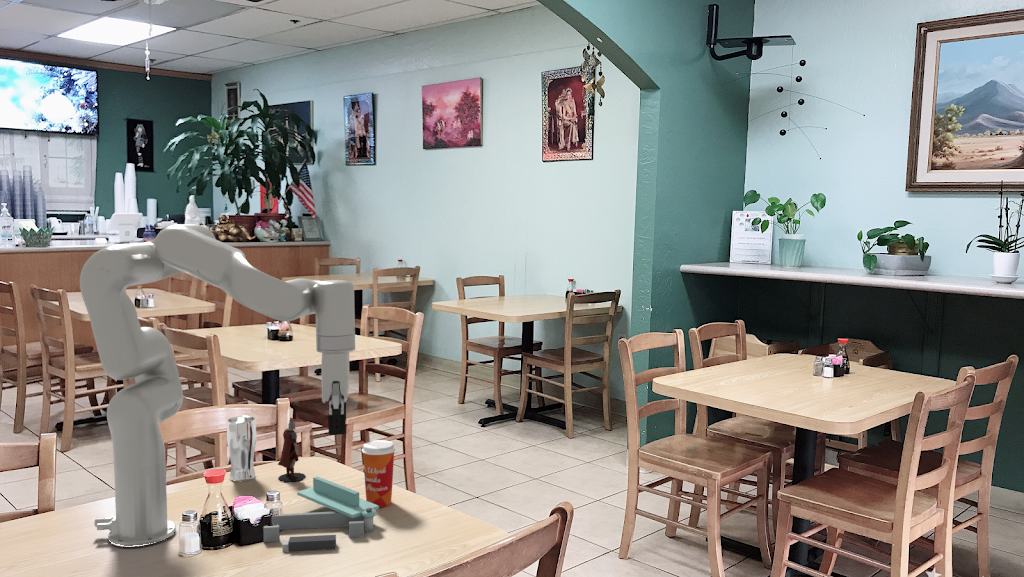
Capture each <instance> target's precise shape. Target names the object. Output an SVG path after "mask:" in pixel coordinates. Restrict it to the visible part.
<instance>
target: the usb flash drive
mask: <svg viewBox="0 0 1024 577" xmlns="http://www.w3.org/2000/svg"><path fill="white" fill-rule="evenodd" d="M336 546H337V535H336V534H324V535H321V534H319V535H305V536H304V535H303V536H290V537H289V539H288V540H283V542H282V546H281V547H282V552H288V553H295V552H312V551H314V552H315V551H328V550H329V551H332V550H334V551H335V550H336Z"/></svg>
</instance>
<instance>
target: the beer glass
mask: <svg viewBox="0 0 1024 577" xmlns="http://www.w3.org/2000/svg"><path fill="white" fill-rule="evenodd" d="M226 422H227V426H226V443H227V450H228V453H229V454H228V455H229V459H230V473H229V480H230V479H231V481H232V480H235V481H234V482H236V481H242V482H247V480H248V481H251V480H254V479H255V477H256V471H255V468H254V458H255V453H256V452H255V451H256V443H257V425H256V417H254V416H249V415H239V416H234V417H229V418H227V421H226Z"/></svg>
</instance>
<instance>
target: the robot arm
mask: <svg viewBox="0 0 1024 577" xmlns="http://www.w3.org/2000/svg"><path fill="white" fill-rule="evenodd" d="M180 273H184V274H186V275H189V276H192V277H194V278H196V279H198V280H201V281H203V282H205V283H207V284H210V285H212V286H214V287H216V288H218V289H220V290H222V291H223V292H224V293H225V294H227V295H228V296H229V297H230V298H232V299H233V300H235V301H236V302H237V303H239V304H240V305H241V306H243V307H246V308H248V309H249V310H253V311H254V312H256V313H259V314H261V315H264V316H266V317H268V318H270V319H273V320H277V321H279V322H280V321H281V322H292V321H295V320H297V319H300V318H302V317H303V318H304V317H305V316H309V315H314V314H315V345H316V349H315V350H316V352H318V353H320V354H321V402H322V403H323V404H326V402H329V403H328V405H329V407H328V408H329V409H328V415H327V418H328V420H327V422H328V423H327V426H328V429H327V430H328V435H330V436H340V435H346V429H347V428H346V421H347V401H348V396H349V390H350V389H349V388H350V386H349V385H350V352H353V351H355V350H356V327H355V325H356V324H355V323H356V322H355V319H356V314H355V310H356V309H355V287H354V284H353V283H352V282H351V281H349V280H344V279H343V280H342V279H331V280H329V279H328V280H318V279H310V278H302V277H301V278H295V279H290V280H286V281H284V280H282V279H280V278H277V277H275V276H272V275H269V274H267V273H265V272H263V271H261V270H259V269H258V268H256V267H255V266H252V264H250V263H249V262H248V260H247V258H246V254H245V253H244V252H243V251H242V250H241V249H239V248H237V247H234V246H232V245H229V244H227V243H225V242H222V241H220V240H218V239H216V236H215V235H214V234H213V232H212V231H211V230H210V229H208V228H207V227H205V226H203V225H201V224H194V223H192V224H190V223H186V224H184V223H183V224H181V223H180V224H172V225H168V226H166V227H164V228H162V229H161V230H159V232H158V234H157V235H156V236H155V238H154V239H152V240H148V241H145V242H140V243H139V242H138V243H135V242H134V243H122V244H121V243H120V244H119V243H118V244H115V245H114V244H113V245H109V246H106V247H103V248H101V249H99V250H97V251H96V252H94V253H93V254H92V255H90V257H88V259H87V261H85V263H84V265H83V267H82V268H81V271H80V276H79V289H80V293H81V298H82V299H83V300H82V301H83V303H84V306H85V307H86V312H87V314H88V317H89V321H90V325H91V330H92V333H93V338H94V342H95V345H96V349H97V353H98V356H99V361H100V363H101V367H102V369H103V371H104V373H105V374H106V375H107V376H108V377H109V378H111V379H113V380H116V381H126V380H130V379H133V378H134V383H133V384H131V385H128V386H126V387H124V388H122V389H120V390H119V391H118V392H116V393H115V394H114V395H113V396H112V397H111V398H110V400H109V403H108V405H107V409H106V419H107V424H108V429H109V432H110V437H111V443H112V456H113V470H114V471H113V472H114V473H113V474H114V477H113V478H114V498H115V500H114V501H115V514H113V515H111V516H109V517H108V516H100V517H99V516H98V517H97V516H96V517H95V519H94V527H95V528H96V530H97V531H105V530H109V533H108V535H107V539H109V540H110V541H111V542H113V543H115V544H120V545H124V546H133V545H143V544H149V543H150V544H151V543H154V542H159V541H161V540H164V539H166V538H168V537H170V536H171V537H172V536H174V534H175V533H176V531H177V530H176V528H177V527H176V524H175V523H174V522H173V520H169V519H168V505H167V504H168V500H167V499H168V498H167V470H166V468H167V467H166V447H165V444H164V439H163V436H162V433H161V430H160V427H159V425H160V424H161V423H163V422H164V421H166V420H168V419H171V417H173V416H175V415H176V414H177V413H178V412H179V411H180V409H181V407H182V405H183V402H184V392H183V391H184V390H183V386H182V382H181V378H180V374H179V371H178V366H177V363H176V360H175V356H174V352H173V348H172V345H171V343H170V341H169V340H168V338H167V337H166V335H164V333H163V332H162V331H160V330H158V329H157V328H154V327H151V326H141V323H140V321H139V318H138V310H137V308H136V306H135V304H134V303H133V302H134V301H132V299H131V298H130V296H129V295H128V293H127V292H126V291H127V289H128V288H129V287H134V286H139V285H145V284H151V283H156V282H159V281H162V280H164V279H168V278H170V277H173V276H175V275H178V274H180ZM175 530H176V531H175ZM174 532H175V533H174ZM171 537H170V538H171ZM168 539H169V538H168ZM166 540H167V539H166ZM164 541H165V540H164ZM159 543H160V542H159Z"/></svg>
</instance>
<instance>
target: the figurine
mask: <svg viewBox="0 0 1024 577" xmlns="http://www.w3.org/2000/svg"><path fill="white" fill-rule="evenodd" d="M287 424H288V428H286V429H285V430H284V431H283V433H282V436H283V444H282V450H281V451H282V452H281V455H280V459H279V461H278V463H277V465H278V466H280V467H284V468H285V470H286V473H284V474H281V475H279V476H278V477H277V478H278V479H277V480H278V481H279V480H280V481H279V482H281V481H284V482H283V483H289V482H292V483H297V482H296V481H298V482H300V481H304V480H305V479H306V475H305V474H304V473H301V472H295V464H296V462H298V461H299V453H300V449H299V446H300V443H298V442H297V439H298V434H297V432H296V431H295V430H296V423H295V420H294V419H293V418H291V419H290V420H289V422H288V423H287ZM297 443H298V444H297ZM304 478H305V479H304ZM303 479H304V480H303Z"/></svg>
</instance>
